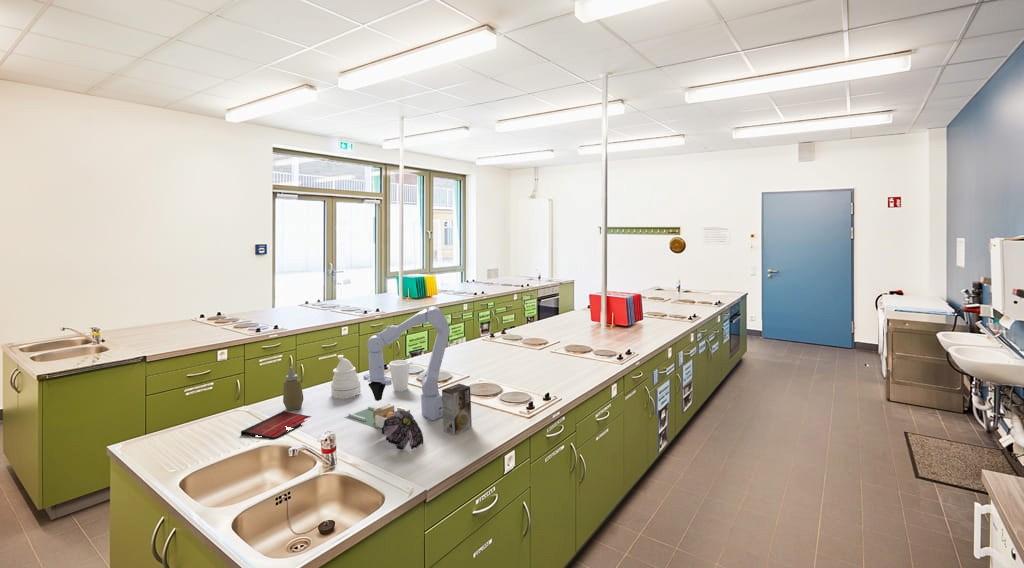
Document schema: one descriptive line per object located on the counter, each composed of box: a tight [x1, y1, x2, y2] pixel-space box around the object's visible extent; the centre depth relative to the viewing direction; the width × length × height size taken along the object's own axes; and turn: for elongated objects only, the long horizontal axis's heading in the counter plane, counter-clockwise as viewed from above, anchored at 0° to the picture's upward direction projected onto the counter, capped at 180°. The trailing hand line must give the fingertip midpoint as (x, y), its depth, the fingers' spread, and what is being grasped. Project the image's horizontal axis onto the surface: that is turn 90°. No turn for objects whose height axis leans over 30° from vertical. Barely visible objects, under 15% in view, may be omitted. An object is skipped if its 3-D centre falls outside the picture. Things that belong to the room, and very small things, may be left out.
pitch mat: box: [343, 405, 382, 431], centre depth 189 cm, size 25×14×2 cm, turn 55°
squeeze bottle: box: [282, 366, 305, 411], centre depth 204 cm, size 8×8×18 cm
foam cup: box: [388, 359, 411, 392], centre depth 227 cm, size 10×9×13 cm
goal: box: [375, 406, 411, 428], centre depth 184 cm, size 6×12×4 cm, turn 145°
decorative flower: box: [381, 410, 424, 451], centre depth 167 cm, size 14×12×15 cm
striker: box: [373, 403, 395, 423], centre depth 187 cm, size 3×8×5 cm, turn 144°
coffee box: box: [441, 383, 473, 436], centre depth 178 cm, size 9×6×16 cm
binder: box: [240, 411, 312, 440], centre depth 185 cm, size 16×2×21 cm
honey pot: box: [330, 354, 362, 399], centre depth 222 cm, size 13×13×18 cm
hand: (378, 400), depth 188 cm, fingers closed
